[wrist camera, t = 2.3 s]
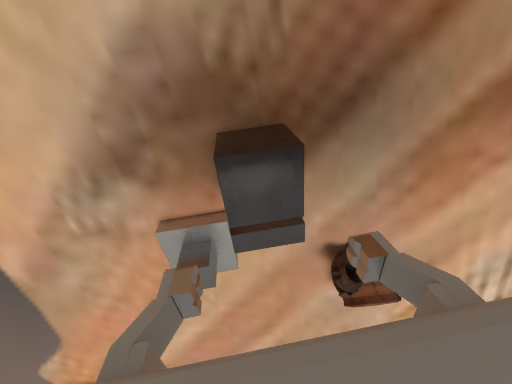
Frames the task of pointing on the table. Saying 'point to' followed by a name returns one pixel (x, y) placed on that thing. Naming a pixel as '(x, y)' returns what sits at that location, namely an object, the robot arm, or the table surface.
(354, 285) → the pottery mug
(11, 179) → the table surface
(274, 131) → the dark brown cube
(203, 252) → the gray angular block
